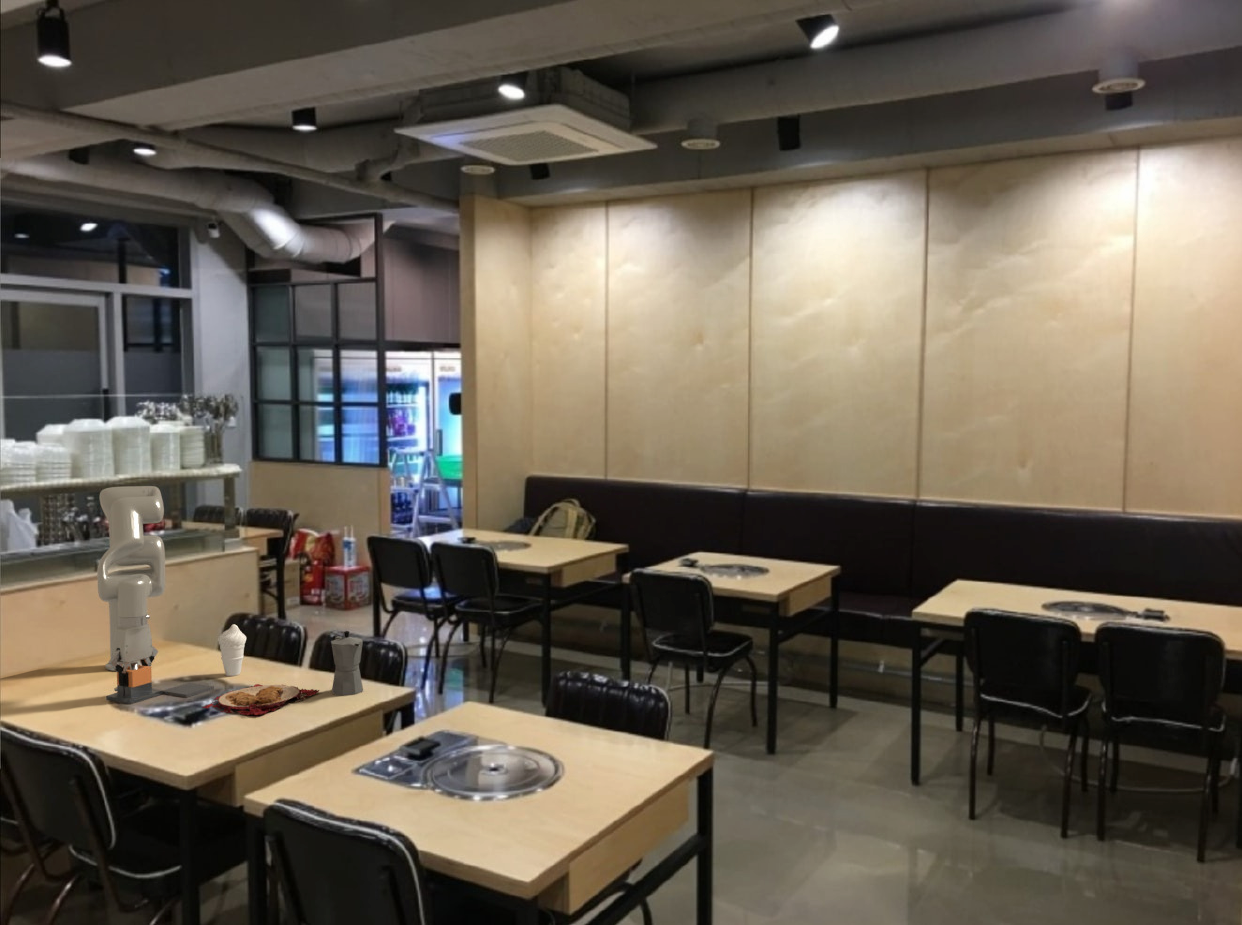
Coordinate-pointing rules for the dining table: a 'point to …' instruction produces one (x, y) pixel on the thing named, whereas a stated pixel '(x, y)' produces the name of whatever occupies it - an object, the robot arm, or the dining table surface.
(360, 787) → the dining table surface
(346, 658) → the coffeepot
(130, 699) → the grey peg stand
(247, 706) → the plate with food
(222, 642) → the soft serve ice cream cone
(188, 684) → the mat
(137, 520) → the robot arm
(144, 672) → the orange square tube
